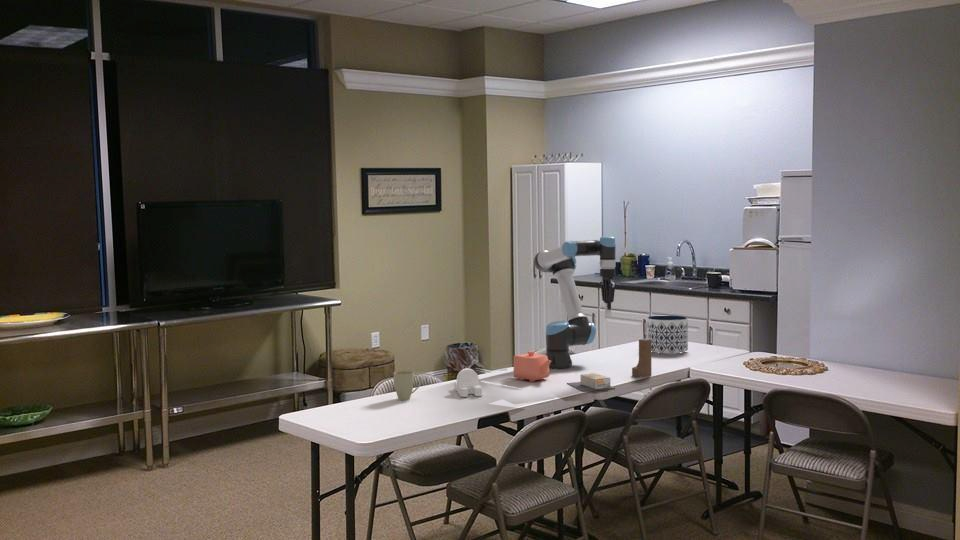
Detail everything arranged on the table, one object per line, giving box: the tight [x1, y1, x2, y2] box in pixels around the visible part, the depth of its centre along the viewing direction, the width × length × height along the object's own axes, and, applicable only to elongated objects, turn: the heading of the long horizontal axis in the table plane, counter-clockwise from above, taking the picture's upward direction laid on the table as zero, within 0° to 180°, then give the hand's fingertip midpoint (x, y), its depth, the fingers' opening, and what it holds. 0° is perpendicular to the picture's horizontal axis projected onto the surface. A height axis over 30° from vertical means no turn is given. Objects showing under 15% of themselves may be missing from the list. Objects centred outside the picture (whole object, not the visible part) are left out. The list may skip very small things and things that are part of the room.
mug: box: [393, 370, 423, 401], centre depth 380 cm, size 11×10×12 cm
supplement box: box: [580, 372, 611, 389], centre depth 398 cm, size 8×5×13 cm
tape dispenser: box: [453, 367, 483, 398], centre depth 393 cm, size 10×18×11 cm, turn 12°
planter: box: [646, 314, 689, 354], centre depth 489 cm, size 22×22×20 cm
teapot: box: [513, 350, 551, 383], centre depth 417 cm, size 22×13×14 cm, turn 47°
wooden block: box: [631, 338, 652, 378], centre depth 423 cm, size 9×4×18 cm, turn 123°
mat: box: [566, 381, 616, 393], centre depth 401 cm, size 18×16×1 cm
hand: (608, 316), depth 426 cm, fingers closed
